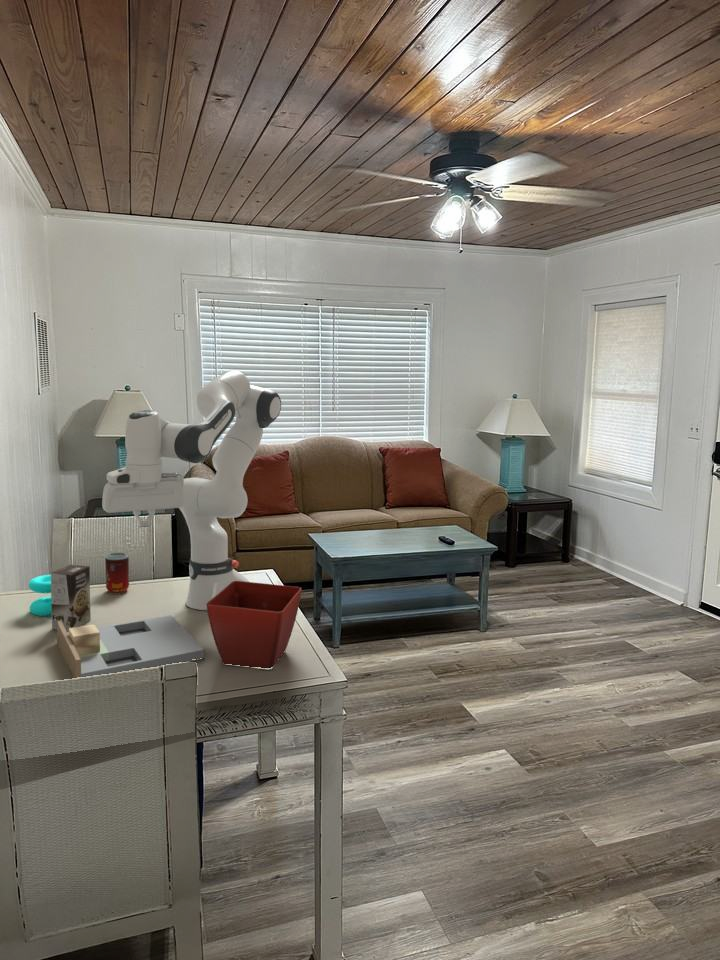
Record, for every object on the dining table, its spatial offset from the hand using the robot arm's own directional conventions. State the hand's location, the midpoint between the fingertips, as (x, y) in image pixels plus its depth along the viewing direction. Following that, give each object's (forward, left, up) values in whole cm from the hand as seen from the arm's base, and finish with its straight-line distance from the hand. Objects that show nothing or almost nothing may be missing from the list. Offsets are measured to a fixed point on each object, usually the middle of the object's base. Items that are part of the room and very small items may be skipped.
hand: (144, 526), depth 173 cm
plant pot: (-21, +24, -31) cm, 45 cm away
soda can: (-3, -43, -31) cm, 54 cm away
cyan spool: (+19, -34, -31) cm, 50 cm away
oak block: (+16, +5, -29) cm, 33 cm away
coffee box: (+15, -20, -31) cm, 40 cm away
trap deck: (+5, +5, -31) cm, 32 cm away
